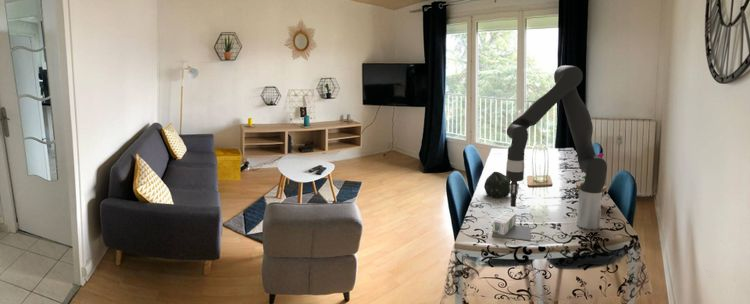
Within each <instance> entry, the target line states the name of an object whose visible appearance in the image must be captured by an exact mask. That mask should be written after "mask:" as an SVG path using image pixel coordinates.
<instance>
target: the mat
mask: <svg viewBox="0 0 750 304" xmlns="http://www.w3.org/2000/svg"><path fill="white" fill-rule="evenodd" d="M491 234H492V235H491V237H492V238H500V239H501V238H502V239H509V240H510V239H512V240H519V241H520V240H521V241H527V242H528V241H529V242H531V226H524V225H516V224H515V225H514V226H513V227H512V228H511V229H510V230H509V231H508V232H507V233H506V234H505V235H501V234H497V233H493V232H492V233H491Z"/></svg>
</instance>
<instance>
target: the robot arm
mask: <svg viewBox="0 0 750 304" xmlns="http://www.w3.org/2000/svg"><path fill="white" fill-rule="evenodd" d="M583 76H584V75H583V72H582V70H581V69H580V68H579V67H577V66H576V65H575V66H574V65H560V66H559V67H557V68H556V69H555V71H554V74H553V79H554V83H555V84H554V86H553V87H552V88H550V89H549V90H548V91H547V92H546V93H543V95H542V96H541V97H539V98H538V99H536V100H535V101H534V102H533V103H531V104H530V105H529V107H528V108H527V109H526V110H525V111H524V112H523V113H522V114H521V115H519V116H518V117H516V119H515V120H513V121H512V122H511V123H510V124H509V126H508V127H507V129H506V134H507V137H509V138H510V139H511V143H510V146H509V147H508V149H507V158H506V168H505V176H506V179H507V180H509V181H511V182H510V187H509V188H510V193H509V195H510V197H509V199H510V207H511V208H512V207H513V208H516V207H517V205H516V204H517V197H518V194H519V188H520V182H522V181H524V178H525V177H524V175H525V174H524V173H525V150H526V146H527V142H528V139H529V133H528V129H529V128H530V127H532V126H534V127H535V125H537V124H538V122H540V121H541V120H542V119H543V118H544V116H545V115H546V114H547V113H548V112H549V111H550V110H551V109H552V108H553V107H554V106H555V105H556V104H557V103H558V102H559V101H561V100H562V105H563V108H564V113H565V116H566V119H567V124H568V127H569V131H570V134H571V137H572V139H573V143H574V146H575V150H576V155H577V162H578V166H579V168H580V170H581V172H583V173H584V174H585V175H584V176H585V179H584V182H582V183H581V184H580V192H579V195H578V205H577V215H576V216H577V217H576V226H577V225H578V226H577V227H578V228H581V227H582V228H581V229H584V228H586V229H585V230H591V229H593V230H596V229H595V228H599V229H600V226H601V225H600V224H601V215H602V207H601V206H602V201H601V198H602V199H603V197H602V189H603V187H604V185H606V179H607V173H608V172H607V171H608V164H607V161H606V160H605V159H604V158H603V157H602V158H600V157H598V156H597V155H598V154H597V153H596V152H595V147H594V146H593V141H592V140H593V139H592V137H593V132H594V129H593V128H594V125H593V121H592V118H591V115H590V111H589V110H588V108H587V106H586V104H585V103H584V102H583V100H582V98H581V97H580V94H579V93H578V89H577V87H578V86H579V85H580V84H581V82H582V81H583Z"/></svg>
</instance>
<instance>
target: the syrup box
mask: <svg viewBox="0 0 750 304" xmlns="http://www.w3.org/2000/svg"><path fill="white" fill-rule="evenodd" d="M516 219H517V213H515V212H510V211H503V212H502V213H501V214H500V215H499V216H497V217H496V218H494V219H493V220H492V221H493V222H492V233H497V234H501V235H505V234H506V233H507V232H508V231H509V230H510V229H511V228H512V227H513V226H514V225H516Z"/></svg>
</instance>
